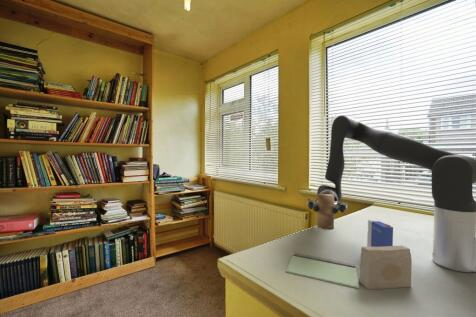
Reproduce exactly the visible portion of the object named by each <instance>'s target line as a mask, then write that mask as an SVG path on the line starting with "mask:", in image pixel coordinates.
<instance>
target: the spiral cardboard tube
mask: <svg viewBox="0 0 476 317" xmlns="http://www.w3.org/2000/svg"><path fill="white" fill-rule="evenodd" d="M317 198H318V211H317V215H316V216H317V218H316V219H317V224H316V225H317V226H316V227H317V228H318V229H320V230H325V231H330V230H331V231H332V230H334V229H335V214H334V195H331V194H318V196H317Z"/></svg>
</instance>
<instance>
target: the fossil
mask: <svg viewBox="0 0 476 317" xmlns="http://www.w3.org/2000/svg"><path fill="white" fill-rule="evenodd" d="M359 260H360V262H359V278H358V283H360V284H361V285H362V286H363V287H364V288H365V289H367V290H380V289H381V290H382V289H383V290H384V289H396V288H398V289H399V288H410V287H412V266H413V265H412V264H413V263H412V254H411V249H410V248H409V247H406V246H404V245H393V246H385V247H367V246H361V250H360V259H359Z"/></svg>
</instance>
